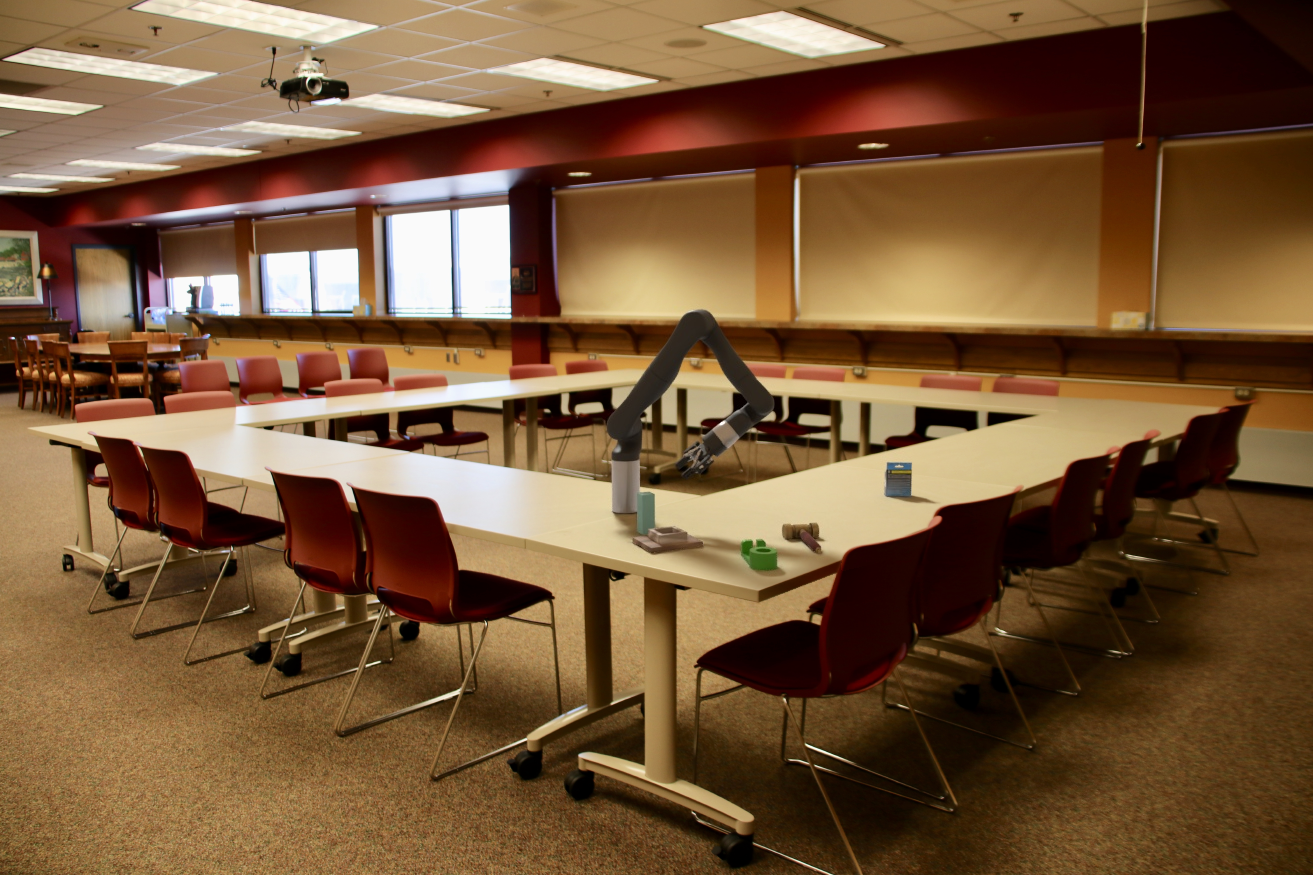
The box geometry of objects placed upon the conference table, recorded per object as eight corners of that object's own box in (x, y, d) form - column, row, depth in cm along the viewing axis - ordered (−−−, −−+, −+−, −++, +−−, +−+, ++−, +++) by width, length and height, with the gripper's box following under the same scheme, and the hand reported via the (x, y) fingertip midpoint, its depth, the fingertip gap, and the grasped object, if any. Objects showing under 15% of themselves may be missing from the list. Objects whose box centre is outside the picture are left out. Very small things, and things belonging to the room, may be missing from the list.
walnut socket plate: (632, 542, 258) (632, 528, 258) (682, 536, 265) (682, 522, 264) (651, 553, 246) (651, 538, 246) (703, 546, 253) (703, 532, 252)
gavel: (838, 543, 244) (802, 544, 243) (837, 559, 245) (802, 560, 244) (815, 520, 265) (781, 521, 263) (814, 535, 266) (781, 536, 264)
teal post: (637, 532, 270) (636, 492, 268) (649, 530, 272) (649, 491, 270) (642, 534, 266) (642, 495, 265) (655, 533, 268) (654, 493, 266)
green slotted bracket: (780, 571, 230) (780, 553, 229) (753, 572, 229) (753, 554, 229) (765, 555, 245) (765, 538, 244) (739, 556, 244) (739, 539, 243)
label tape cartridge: (909, 494, 321) (910, 460, 320) (911, 497, 318) (912, 462, 316) (883, 494, 322) (884, 460, 321) (885, 496, 318) (886, 462, 317)
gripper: (707, 422, 279) (666, 455, 279) (720, 437, 265) (678, 472, 266) (721, 438, 282) (681, 472, 282) (734, 455, 269) (693, 489, 269)
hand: (679, 472), depth 274 cm, fingers open, 8 cm apart
